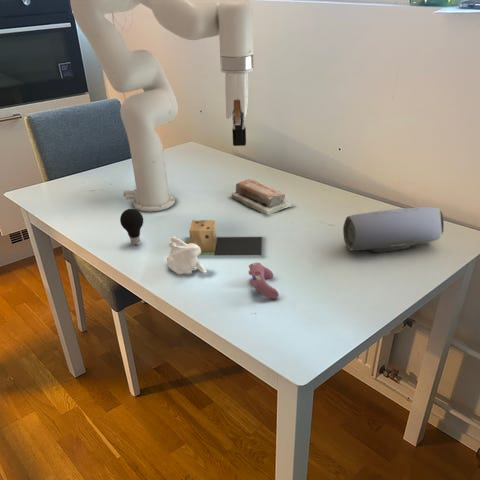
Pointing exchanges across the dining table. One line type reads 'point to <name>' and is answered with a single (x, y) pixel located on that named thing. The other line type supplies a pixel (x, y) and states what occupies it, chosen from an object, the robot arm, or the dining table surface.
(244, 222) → the dining table surface
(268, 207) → the packaged product
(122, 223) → the light bulb
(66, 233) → the dining table surface
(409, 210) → the bluetooth speaker
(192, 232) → the die
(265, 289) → the video game controller
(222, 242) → the dice mat
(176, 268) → the rabbit figurine
